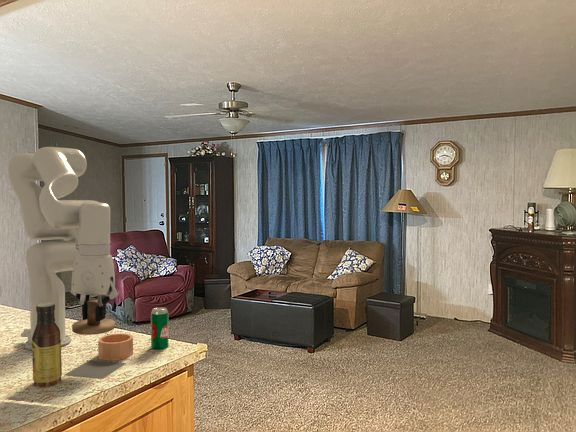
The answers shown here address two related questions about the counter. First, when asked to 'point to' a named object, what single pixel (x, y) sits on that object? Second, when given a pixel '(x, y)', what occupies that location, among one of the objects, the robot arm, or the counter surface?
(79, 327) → the lid
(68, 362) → the counter surface
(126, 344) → the bowl
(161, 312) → the soda can
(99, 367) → the mat
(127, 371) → the counter surface
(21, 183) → the robot arm
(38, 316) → the sauce bottle
